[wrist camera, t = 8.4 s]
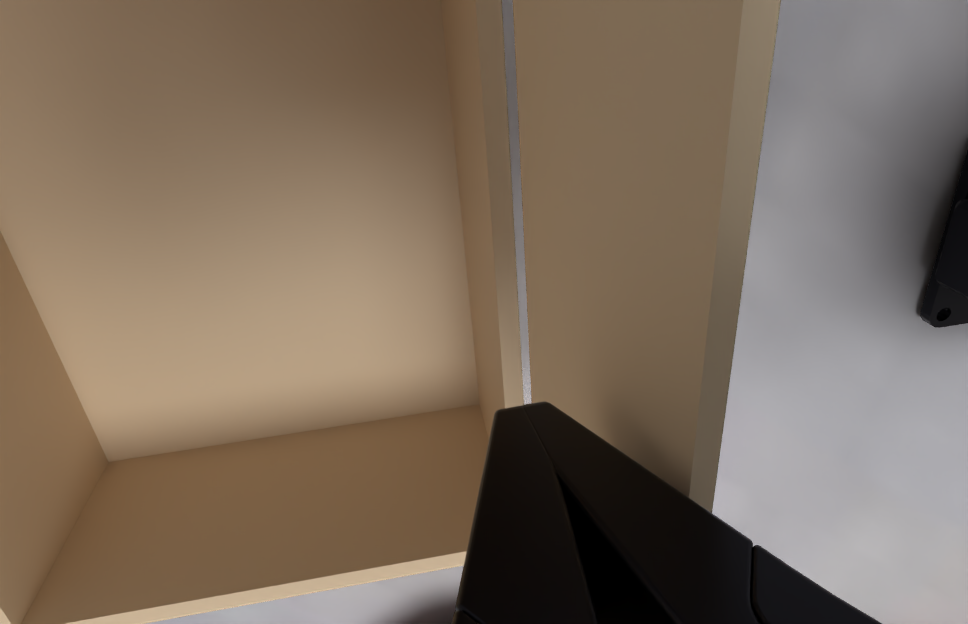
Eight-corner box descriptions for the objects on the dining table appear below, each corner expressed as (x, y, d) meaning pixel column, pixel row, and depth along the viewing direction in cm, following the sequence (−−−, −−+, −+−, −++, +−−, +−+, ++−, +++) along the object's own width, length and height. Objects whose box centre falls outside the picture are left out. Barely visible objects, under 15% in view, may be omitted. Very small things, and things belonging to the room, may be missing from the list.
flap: (505, -132, 8) (528, -133, 8) (539, 556, 15) (551, 552, 15) (772, -276, 4) (817, -277, 4) (653, 827, 10) (670, 821, 10)
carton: (445, -127, 14) (491, -189, 9) (491, 412, 21) (532, 559, 16) (-157, -85, 13) (-534, -127, 7) (107, 472, 20) (11, 655, 14)
